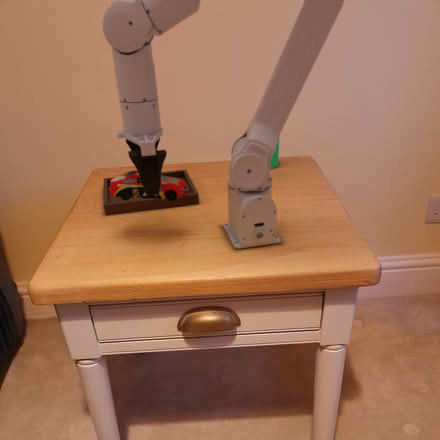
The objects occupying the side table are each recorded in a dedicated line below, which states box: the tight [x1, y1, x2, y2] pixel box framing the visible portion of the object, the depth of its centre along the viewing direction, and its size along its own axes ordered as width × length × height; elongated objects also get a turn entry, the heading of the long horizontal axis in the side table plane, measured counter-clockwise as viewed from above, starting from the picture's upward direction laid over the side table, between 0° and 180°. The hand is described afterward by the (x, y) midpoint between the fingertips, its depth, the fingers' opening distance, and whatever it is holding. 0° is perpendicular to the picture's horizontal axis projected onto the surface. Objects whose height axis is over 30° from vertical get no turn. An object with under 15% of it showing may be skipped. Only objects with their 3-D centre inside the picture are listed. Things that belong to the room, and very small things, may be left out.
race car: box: [109, 169, 188, 201], centre depth 71 cm, size 13×5×4 cm, turn 82°
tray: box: [103, 169, 200, 216], centre depth 90 cm, size 16×19×2 cm
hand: (150, 187), depth 71 cm, fingers closed on race car, 6 cm apart
